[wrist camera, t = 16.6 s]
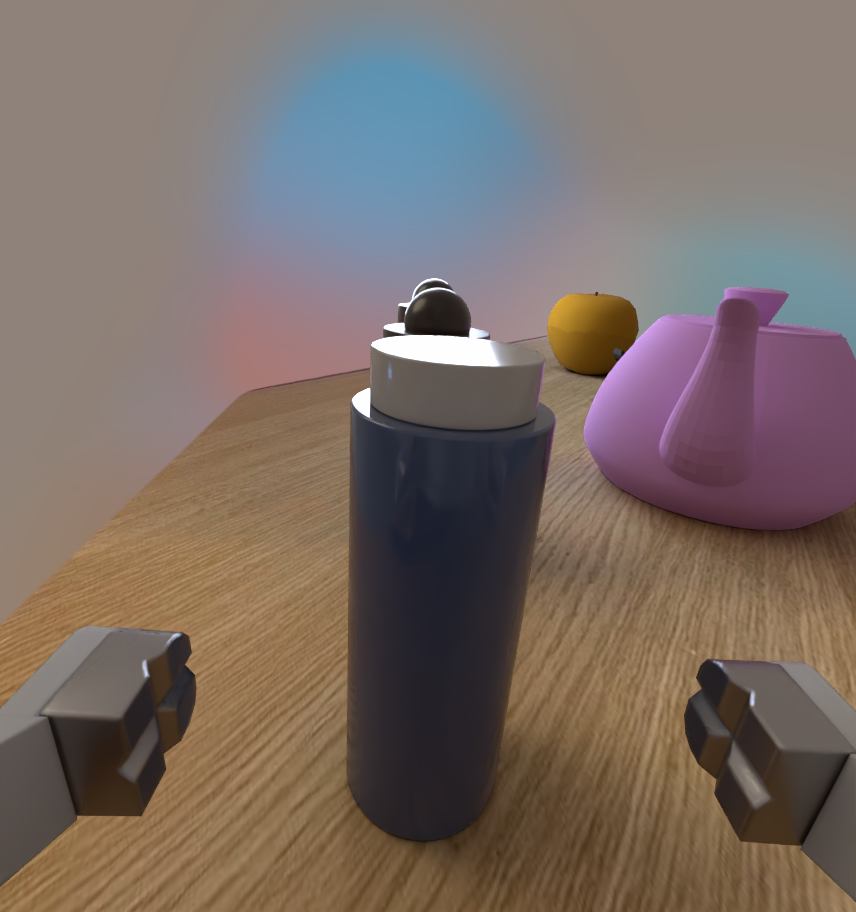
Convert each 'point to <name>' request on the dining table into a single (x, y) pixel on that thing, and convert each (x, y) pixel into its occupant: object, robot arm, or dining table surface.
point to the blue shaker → (439, 571)
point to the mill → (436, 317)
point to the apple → (591, 331)
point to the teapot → (732, 417)
